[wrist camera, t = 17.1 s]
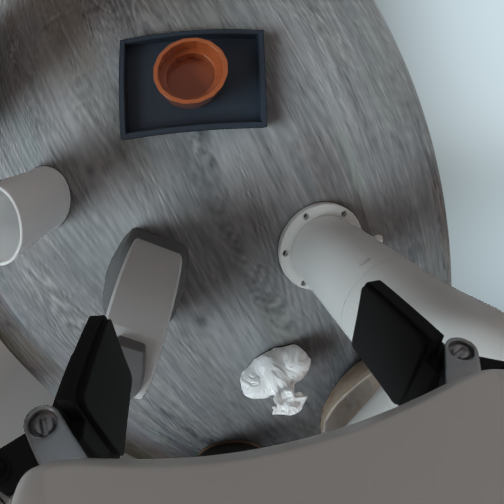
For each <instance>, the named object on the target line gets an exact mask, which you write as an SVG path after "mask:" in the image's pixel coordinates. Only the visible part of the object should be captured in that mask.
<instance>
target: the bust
mask: <svg viewBox="0 0 504 504" xmlns="http://www.w3.org/2000/svg"><path fill="white" fill-rule="evenodd" d="M310 365H311V359H310V358H309V357H308V355H307V353H306V352H305V351H304V350H303V349H302V348H300V347H299V346H297V345H294V344H292V345H288V346H285V347H278V348H273V349H272V350H270V351H268V352H265V353H264V354H262V355H260V356H259V357H257V358H255V359H254V360H253V361H252V363H251V364H250V365H249V366H248V367H247V368H246V369H245V370H244V371H243V372H242V374H241V379H240V382H241V388H242V391H243V393H244V395H245V396H247V397H249V398H252V399H257V398H261V399H263V398H268V397H269V396H270V395H275V397H274V398H273V400H274V402H275V403H276V404H277V407H275V406H273V407H272V408H273V412H272V414H273V415H274V414H279V415H281V414H283V415H288V416H290V415H294V414H296V413H297V412H299V411H300V410H302V408H303V404H304V403H305V401H306V399H307V397H308V396H307V395H303V394H302V392H298V393H296V394H294V387H295V386H294V384H295V383H296V382H298V381H300V380H302V379H303V377H304V376H305V375H306V373H307V372H308V370H309V368H310Z"/></svg>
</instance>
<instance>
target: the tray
mask: <svg viewBox="0 0 504 504" xmlns="http://www.w3.org/2000/svg"><path fill="white" fill-rule="evenodd" d="M184 38H201V39H205V40H208V41H211V42H213V43H214V44H215V45H216V46H218V47H219V48H220V49H221V50H222V51H223V53H224V55H225V57H226V59H227V61H228V75H227V78H226V80H225V82H224V85H223V87H222V89H221V91H220V92H219V94H218V95H217V96H216V97H215V98H214V99H213V100H212V101H211V102H210V103H208V104H206V105H204V106H201V107H199V108H193V109H183V108H179V107H176V106H173V105H172V104H170V103H169V102H168V101H167V100H165V99H164V98H163V96H162V95H161V93H160V92H159V90H158V88H157V86H156V84H155V82H154V78H153V67H154V64H155V62H156V60H157V58H158V56H159V54H160V53H161V52H162V51H163V50H164V49H165V48H166V47H167V46H168V45H170V44H172V43H174V42H176V41H178V40H181V39H184ZM119 111H120V132H121V140H127V139H133V138H140V137H147V136H154V135H162V134H171V133H180V132H191V131H203V130H217V129H237V128H264V127H267V104H266V78H265V55H264V34H263V30H246V29H213V30H192V31H180V32H170V33H161V34H153V35H147V36H140V37H134V38H129V39H124V40H120V55H119Z"/></svg>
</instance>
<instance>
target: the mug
mask: <svg viewBox="0 0 504 504" xmlns="http://www.w3.org/2000/svg"><path fill="white" fill-rule="evenodd" d="M70 202H71V198H70V191H69V187H68V184H67V182H66V180H65V178H64V177H63V176H62V175H61V173H60V172H58V171H57V170H56V169H54V168H51V167H48V166H41V167H37V168H35V169H33V170H31V171H29V172H26V173H22V174H19V175H15V176H12V177H9V178H6V179H2V180H0V265H6V264H9V263H11V262H12V261H13V260H15V259H16V258H17V257H18V256H19V255H20V254H22V253H23V252H24V251H25V250H26V249H28V248H29V247H30V246H31V245H33V244H34V243H35V242H36V241H38V240H39V239H40V238H41V237H43V236H44V235H45V234H47V233H48V232H49V231H51V230H54V229H56V228H58V227H59V226H60V225H61V224H62V223H63V222H64V221H65V219H66V217H67V215H68V213H69V209H70Z"/></svg>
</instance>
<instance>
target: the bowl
mask: <svg viewBox="0 0 504 504" xmlns="http://www.w3.org/2000/svg"><path fill="white" fill-rule="evenodd" d="M380 387H381V385H380V384H379V383H378V381H377V380H376V378H375V377H374V376H373V374H372V373H371V372H370V370H369V369H368V367H367V366H366V365H365V363H364V362H363V361H362V360H361V361H360V362H358V363H357V364H355V365H354V366H353V367H351V368H350V369H349V370H348V371H347V372H346V373H345V374H344V375H343V376H342V377H341V378H340V379H339V381H338V382H337V384H336V385H335V387H334V388H333V389H332V391H331V392H330V394H329V396H328V398H327V401H326V403H325V405H324V407H323V410H322V416H321V419H320V420H321V423H320V426H321V432H322V433H325V432H329V431H332V430H335V429H338V428H342V427H345V426H346V425H347V424H348V423H349V421H350V420H351V419H352V418H353V417H354V416H355V415H356V414H357V412H358V411H359V410H360V409H361V408H362V407H363V406H364V405H365V404H366V403H367V402H368V400H369V399H370V398H371V397H372V396H373V395H374V394H375V393H376V391H377V390H378V389H379V388H380Z"/></svg>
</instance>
